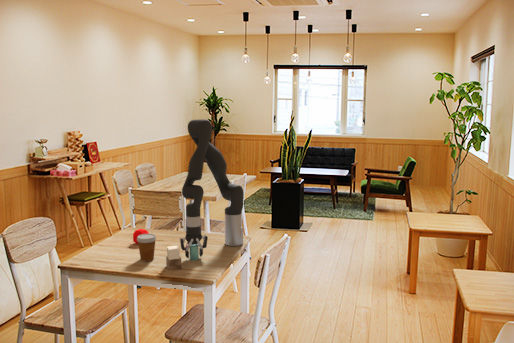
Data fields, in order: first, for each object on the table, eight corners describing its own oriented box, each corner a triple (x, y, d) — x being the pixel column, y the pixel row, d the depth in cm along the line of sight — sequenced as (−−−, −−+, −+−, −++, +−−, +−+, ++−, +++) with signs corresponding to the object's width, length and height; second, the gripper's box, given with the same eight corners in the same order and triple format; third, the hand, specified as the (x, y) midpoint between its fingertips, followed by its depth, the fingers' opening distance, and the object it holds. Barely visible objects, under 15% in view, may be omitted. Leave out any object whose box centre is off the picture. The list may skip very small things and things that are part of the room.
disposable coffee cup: (147, 263, 247) (146, 240, 244) (133, 260, 252) (132, 237, 249) (161, 258, 254) (160, 235, 252) (147, 254, 259) (146, 232, 257)
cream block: (177, 255, 244) (177, 245, 243) (179, 258, 240) (179, 248, 239) (167, 256, 242) (166, 246, 242) (169, 259, 238) (168, 249, 237)
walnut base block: (178, 264, 246) (178, 254, 245) (181, 268, 240) (181, 258, 239) (166, 266, 244) (166, 256, 243) (169, 270, 238) (168, 260, 237)
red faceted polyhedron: (151, 242, 279) (151, 229, 278) (141, 246, 273) (140, 232, 271) (141, 240, 284) (140, 227, 282) (130, 244, 277) (130, 230, 276)
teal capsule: (197, 257, 256) (197, 243, 255) (199, 259, 252) (199, 246, 251) (188, 258, 255) (188, 244, 253) (191, 261, 251) (190, 247, 249)
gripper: (205, 221, 256) (206, 253, 259) (177, 223, 251) (178, 256, 254) (209, 225, 249) (210, 257, 252) (180, 227, 244) (181, 261, 247)
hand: (194, 256), depth 253 cm, fingers open, 6 cm apart
